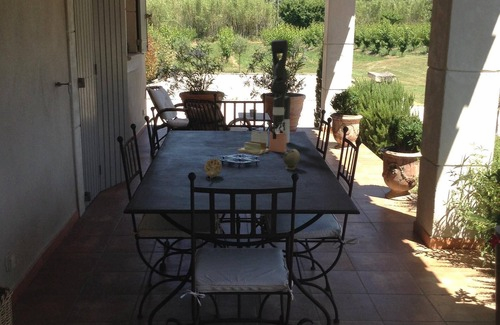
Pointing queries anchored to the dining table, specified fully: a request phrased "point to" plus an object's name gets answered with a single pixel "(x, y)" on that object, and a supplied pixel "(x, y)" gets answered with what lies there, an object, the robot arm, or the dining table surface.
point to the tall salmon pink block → (278, 142)
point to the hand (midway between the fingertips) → (277, 138)
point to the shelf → (254, 147)
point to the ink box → (260, 136)
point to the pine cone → (213, 167)
